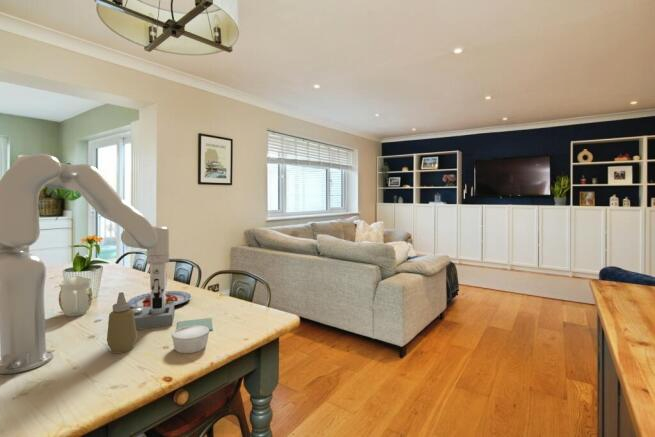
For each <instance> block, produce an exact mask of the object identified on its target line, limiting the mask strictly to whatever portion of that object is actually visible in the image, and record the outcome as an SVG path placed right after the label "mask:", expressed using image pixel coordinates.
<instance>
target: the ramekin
mask: <svg viewBox="0 0 655 437" xmlns="http://www.w3.org/2000/svg"><path fill="white" fill-rule="evenodd" d="M209 335H210V331H209V328H208V327H206V326H200V325H193V326H186V327H182V328H179V329H177V328H176V329H175V330H174V331H172V333H171V338H172V344H173V348H174V350H175V351H176V352H177V353H180V354H193V353H197V352H200V351H202V350H203V349H204V348H206V346H207V344H208V340H209Z"/></svg>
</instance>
